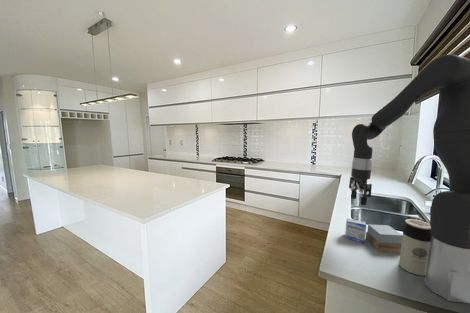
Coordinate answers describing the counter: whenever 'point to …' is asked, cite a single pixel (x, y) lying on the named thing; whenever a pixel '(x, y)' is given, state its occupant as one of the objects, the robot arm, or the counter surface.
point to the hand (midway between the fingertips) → (358, 201)
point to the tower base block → (383, 245)
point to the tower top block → (385, 234)
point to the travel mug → (415, 246)
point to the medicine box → (355, 230)
